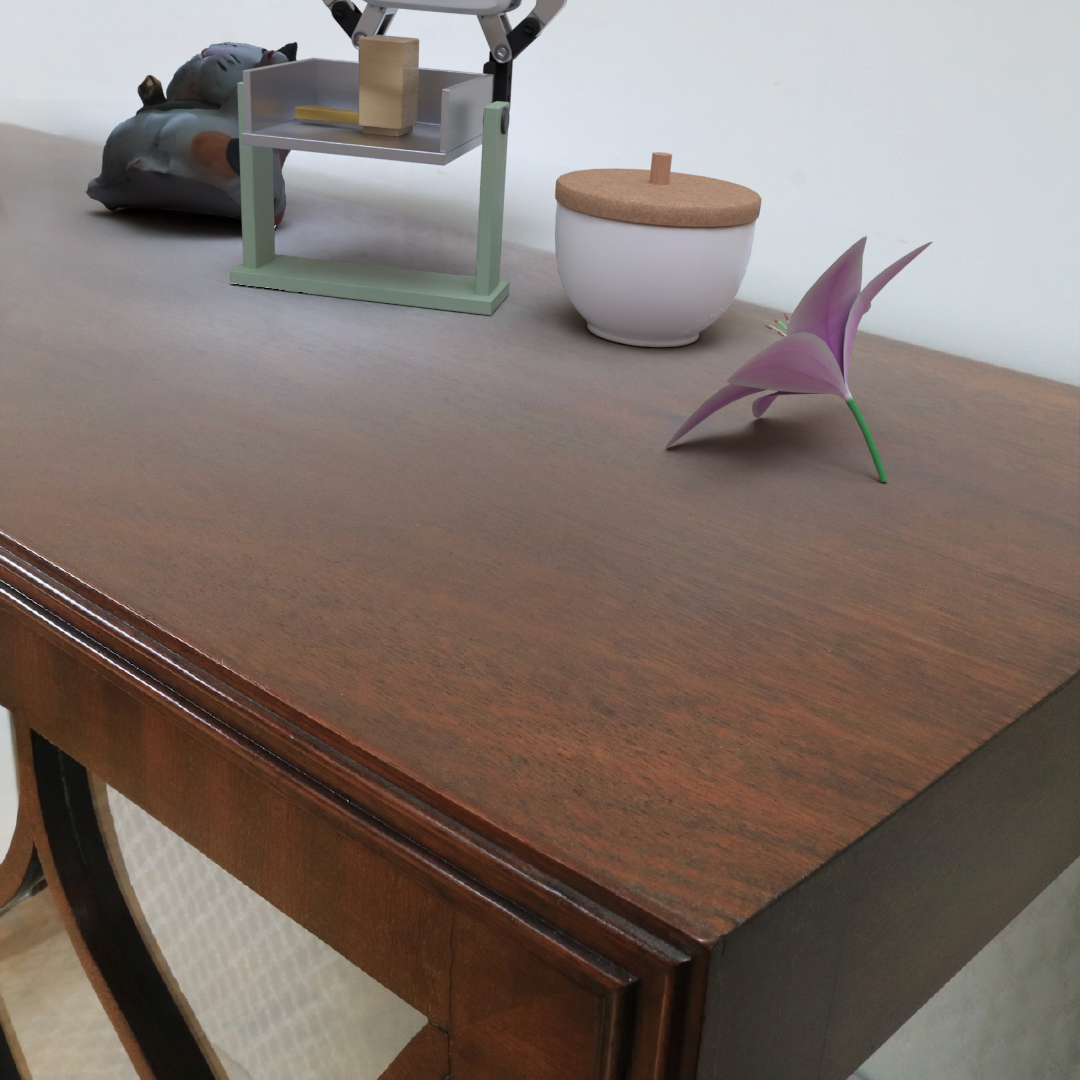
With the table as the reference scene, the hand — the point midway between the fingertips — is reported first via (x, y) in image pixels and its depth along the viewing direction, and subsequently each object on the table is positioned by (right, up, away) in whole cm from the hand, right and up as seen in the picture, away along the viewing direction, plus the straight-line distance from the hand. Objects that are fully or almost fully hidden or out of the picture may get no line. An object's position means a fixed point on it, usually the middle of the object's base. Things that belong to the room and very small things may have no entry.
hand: (433, 119), depth 79 cm
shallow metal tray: (-2, -4, -8) cm, 9 cm away
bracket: (-3, -13, -8) cm, 15 cm away
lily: (+17, -24, -27) cm, 40 cm away
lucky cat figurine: (-17, -5, +6) cm, 18 cm away
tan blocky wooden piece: (-3, -4, -12) cm, 13 cm away
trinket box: (+12, -16, -12) cm, 23 cm away
